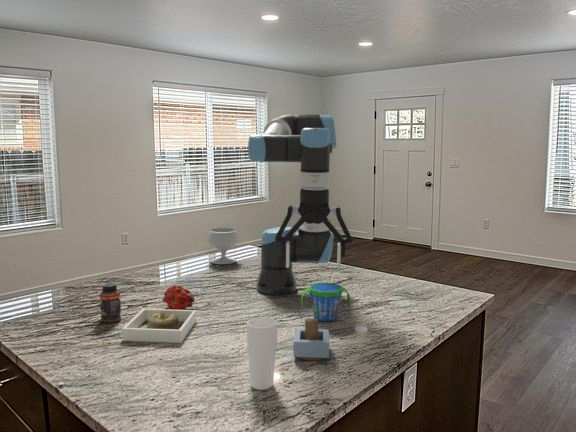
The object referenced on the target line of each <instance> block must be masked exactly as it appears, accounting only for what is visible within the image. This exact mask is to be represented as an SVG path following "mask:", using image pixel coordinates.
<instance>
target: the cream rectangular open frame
mask: <svg viewBox="0 0 576 432" xmlns="http://www.w3.org/2000/svg"><path fill="white" fill-rule="evenodd" d="M161 311H163V312H164V314H165V315H167V316H171V315H172V314H173V315H174V314H176V315H177V316H178V318H179V319H178V320H179V323H180V322H181V323H183V324H181V325H180V327H179V328H178V329H177V330H176V329H147V327H146V328H145V327H143V328H142V327H140V326H141V325H142V324H144V323H145V322H148V321H147V320H148V318H149V316H152V315H153V314H161V313H162V312H161ZM162 314H163V313H162ZM196 323H197V309H195V310H194V309H193V310H192V309H183V310H176V309H171V310H170V309H169V308H168V309H164V308H161V309H160V308H142V309H141V310H140V311H139V312H138V313H137V314H136V315H134V316H133V318H131V319H130V321H129V322H127V323H126V324H125V325H124V326H123V327H122V328H121V335H122V337H121V341H123V342H141V343H142V342H144V343H145V342H147V343H174V344H175V343H176V344H182V343H183V342H184V340H185V338H186V337H187V336H188V335H189V333H190V331H191V330H192V328H193V327H194V326H195V324H196Z"/></svg>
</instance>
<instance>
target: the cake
mask: <svg viewBox="0 0 576 432" xmlns="http://www.w3.org/2000/svg"><path fill="white" fill-rule="evenodd" d="M161 312H162V313H163V314H162V313H161V314H153V315H152V316H149V318H148V320H147V321H146V322H147V327H146V328H147V329H176V330H179V329H180V328H181V323H180V322H179V320H178V319H179V318H178V316H177V315H176V314H174V315H173V314H172V315H171V316H167V315H165V314H164V312H163V311H161Z"/></svg>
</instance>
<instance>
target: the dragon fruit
mask: <svg viewBox="0 0 576 432" xmlns="http://www.w3.org/2000/svg"><path fill="white" fill-rule="evenodd" d="M163 295H164V296H163V298H162V300H161V301H162V302H163V303H166V304H167V305H166V306H167V307H168V309H170V310H184V309H185V308H192V307H193V305H194V304H195V303H196V302H195V296H194V295H193V294H192V293H191V291H190V290H189V289H186V288H184V287H183V286H181V285H176V284H175V285H172V286H169V287H168V288H167V290H165V292H164V294H163Z"/></svg>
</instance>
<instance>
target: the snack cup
mask: <svg viewBox="0 0 576 432" xmlns="http://www.w3.org/2000/svg"><path fill="white" fill-rule="evenodd" d="M344 292H345V293H346V296H347V297H346V298H347V303H346V307H347V308H350V307H351V295H350V292H348V290H347V289H346V288H345V287H343V286H342V285H340V284H338V283H336V282H335V283H334V282H315V283H313V284H310V285H309V287H308V288H306V289H305V290H304V291H303V292H302V294H301V296H300V297H301V298H300V305H301V308H302V309H304V301H303V299H304V296H305V295H306V294H307V293H309V297H310V300H311V305H312V306H311V307H312V308H311V309H312V315H313V317H314V319H317V320H319V322H330V321H332V322H333V321H335V320H336V319H337V318H338V317H339V316H338V315H339V308H340V304H341V297H342V294H343V293H344Z"/></svg>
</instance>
